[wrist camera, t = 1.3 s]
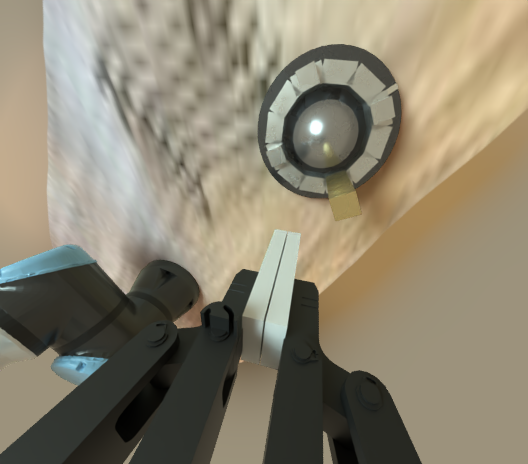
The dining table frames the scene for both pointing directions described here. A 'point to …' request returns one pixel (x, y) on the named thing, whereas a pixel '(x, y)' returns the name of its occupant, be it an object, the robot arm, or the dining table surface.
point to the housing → (327, 118)
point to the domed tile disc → (373, 144)
